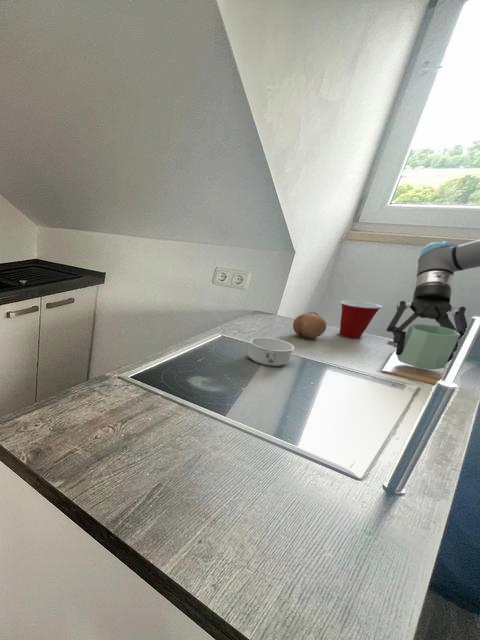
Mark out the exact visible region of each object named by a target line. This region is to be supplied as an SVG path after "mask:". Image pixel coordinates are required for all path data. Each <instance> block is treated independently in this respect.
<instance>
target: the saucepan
mask: <svg viewBox="0 0 480 640" xmlns="http://www.w3.org/2000/svg"><path fill="white" fill-rule="evenodd" d="M249 342H250V346H249V348H248V353H247V357H248V358H250V359H251V360H252V361H254V362H255V363H257V364H260V365H262V366H268V367H280V366H284V365H287V364H288V363H289V362H290V359H291V355H292V351H294V350H295V346H294V345H293V344H292V343H291V342H288V341H285V340H282V339H278V338H273V337H253V338H251V339H249Z"/></svg>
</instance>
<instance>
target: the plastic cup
mask: <svg viewBox="0 0 480 640" xmlns="http://www.w3.org/2000/svg"><path fill="white" fill-rule="evenodd" d="M340 305H341V315H340V324H339V335H340V336H342V337H345V338H349V339H360V338H361V337H362V335H363V334H364V332H365V331H366V330H367V329H368V327H369V325H370V323H371V322H372V320H373V318H374V317H375V315H376V314H377V313H378V311H379V310H380V309H382V307H383V306H382V305H380V304H377V303H370V302H366V301H357V300H355V301H354V300H342V301H340Z"/></svg>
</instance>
